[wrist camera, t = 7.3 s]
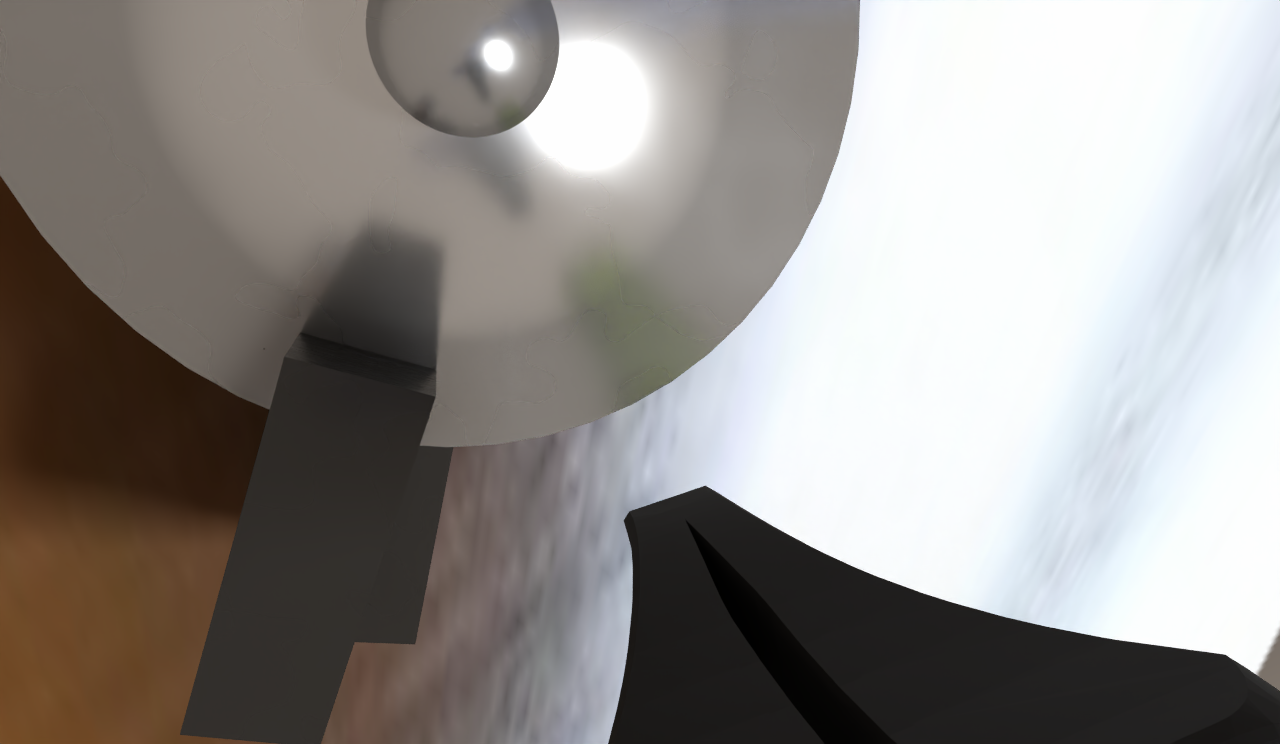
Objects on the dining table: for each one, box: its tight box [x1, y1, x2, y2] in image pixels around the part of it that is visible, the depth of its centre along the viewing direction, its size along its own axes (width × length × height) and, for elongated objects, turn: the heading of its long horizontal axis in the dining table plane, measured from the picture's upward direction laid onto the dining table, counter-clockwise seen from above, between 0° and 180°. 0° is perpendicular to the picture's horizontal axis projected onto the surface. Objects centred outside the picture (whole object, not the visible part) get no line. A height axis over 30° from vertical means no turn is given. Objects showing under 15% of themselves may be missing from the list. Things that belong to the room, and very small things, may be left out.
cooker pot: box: [355, 446, 453, 644], centre depth 16 cm, size 20×14×5 cm
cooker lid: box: [0, 0, 860, 744], centre depth 12 cm, size 20×14×2 cm
